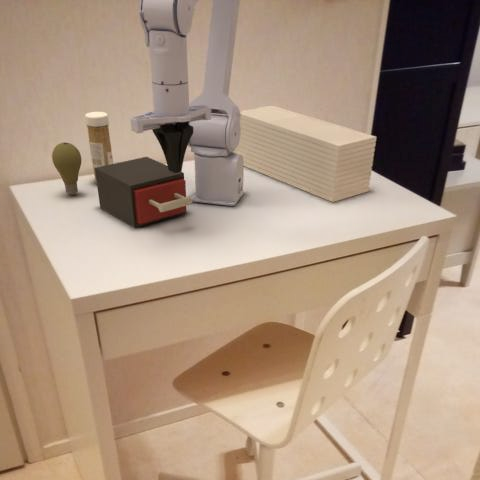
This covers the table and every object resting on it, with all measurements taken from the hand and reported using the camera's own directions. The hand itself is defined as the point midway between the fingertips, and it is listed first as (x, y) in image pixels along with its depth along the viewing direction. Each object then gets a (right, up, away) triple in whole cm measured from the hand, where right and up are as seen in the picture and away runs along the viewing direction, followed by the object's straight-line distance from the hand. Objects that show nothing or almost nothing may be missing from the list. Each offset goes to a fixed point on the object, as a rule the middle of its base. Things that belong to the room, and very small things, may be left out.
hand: (175, 171), depth 104 cm
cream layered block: (+24, +12, +31) cm, 41 cm away
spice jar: (-18, +8, +26) cm, 33 cm away
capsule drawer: (-5, -3, +11) cm, 12 cm away
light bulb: (-23, +3, +20) cm, 31 cm away
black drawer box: (-8, -2, +14) cm, 16 cm away
